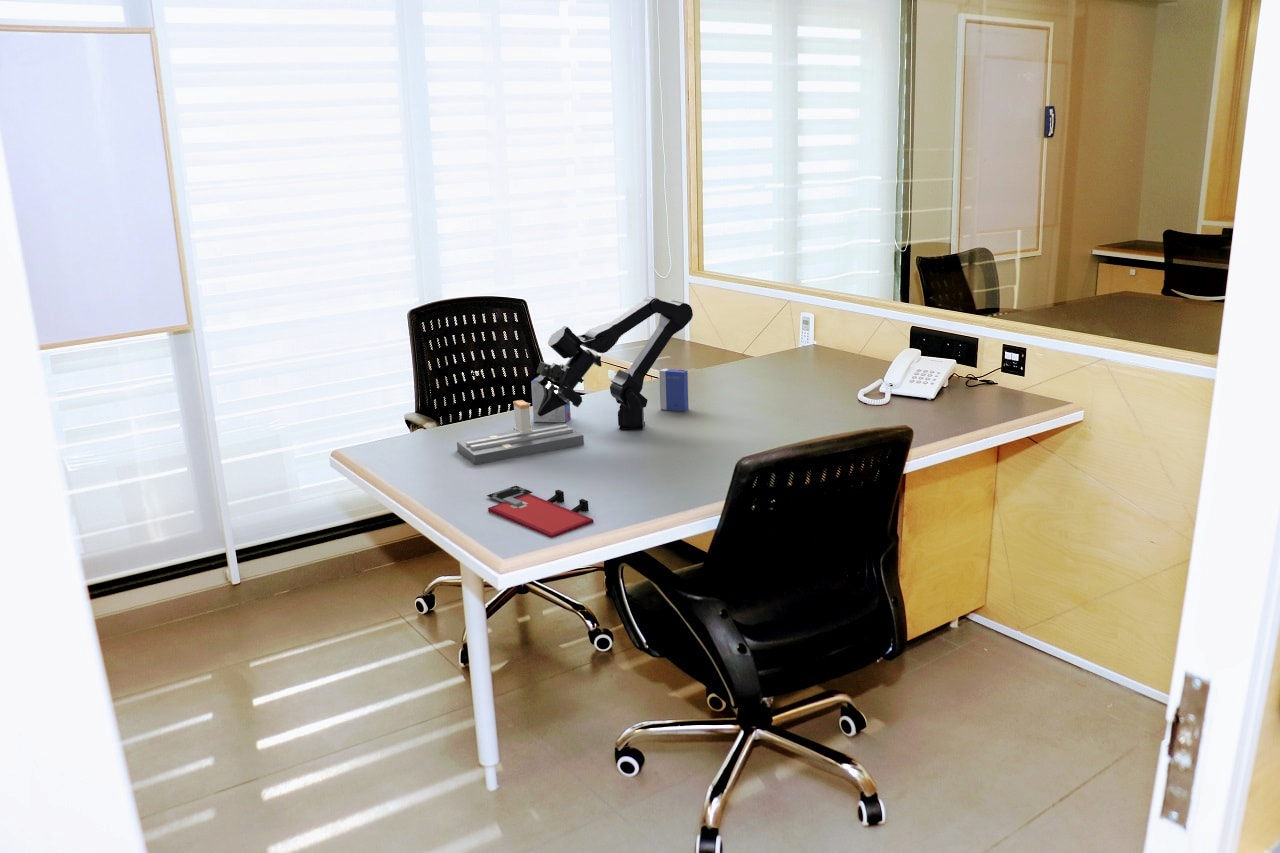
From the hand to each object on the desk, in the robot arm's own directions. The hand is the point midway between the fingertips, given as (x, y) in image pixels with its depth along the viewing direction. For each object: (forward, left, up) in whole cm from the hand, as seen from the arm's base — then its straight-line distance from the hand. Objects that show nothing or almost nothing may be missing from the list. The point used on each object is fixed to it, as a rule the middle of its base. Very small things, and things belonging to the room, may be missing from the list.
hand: (538, 415), depth 273 cm
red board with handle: (-10, +49, -9) cm, 50 cm away
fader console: (+5, +3, -8) cm, 10 cm away
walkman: (-32, -34, -8) cm, 47 cm away
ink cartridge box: (+2, -23, -8) cm, 24 cm away
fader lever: (+4, +3, -5) cm, 7 cm away
